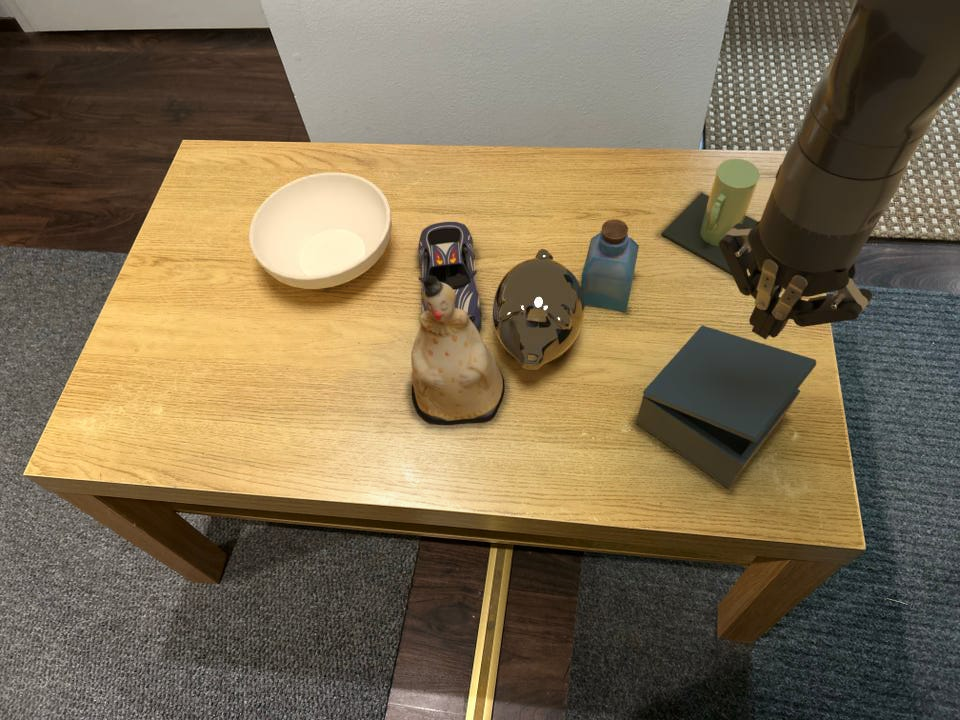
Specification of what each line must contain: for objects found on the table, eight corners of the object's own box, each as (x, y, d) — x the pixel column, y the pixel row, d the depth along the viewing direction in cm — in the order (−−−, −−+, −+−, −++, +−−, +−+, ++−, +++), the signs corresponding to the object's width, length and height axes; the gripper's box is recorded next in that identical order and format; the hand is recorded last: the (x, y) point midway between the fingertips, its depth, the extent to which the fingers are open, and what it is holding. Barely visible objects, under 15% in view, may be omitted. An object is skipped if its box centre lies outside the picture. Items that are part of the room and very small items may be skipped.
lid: (816, 364, 71) (816, 359, 70) (756, 443, 67) (755, 438, 66) (702, 329, 80) (701, 324, 80) (643, 396, 76) (642, 391, 76)
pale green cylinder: (745, 230, 96) (767, 170, 86) (718, 259, 93) (738, 201, 84) (713, 213, 98) (731, 152, 88) (686, 241, 95) (701, 182, 86)
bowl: (256, 315, 95) (237, 283, 89) (276, 211, 105) (260, 176, 99) (396, 307, 94) (386, 274, 88) (402, 202, 104) (394, 167, 98)
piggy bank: (486, 384, 86) (479, 333, 77) (504, 289, 94) (499, 232, 84) (575, 393, 85) (580, 343, 75) (586, 296, 92) (591, 239, 83)
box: (782, 418, 81) (801, 390, 75) (728, 489, 77) (743, 465, 71) (690, 360, 86) (701, 329, 80) (635, 423, 82) (642, 396, 76)
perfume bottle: (633, 275, 94) (644, 214, 83) (626, 312, 91) (636, 252, 80) (588, 268, 95) (594, 206, 85) (579, 304, 92) (584, 244, 82)
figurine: (413, 429, 84) (380, 339, 67) (411, 357, 89) (380, 257, 72) (508, 419, 84) (499, 326, 67) (500, 347, 89) (490, 245, 72)
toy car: (425, 344, 90) (419, 322, 86) (419, 239, 100) (413, 215, 96) (484, 337, 90) (481, 315, 86) (472, 232, 100) (469, 208, 96)
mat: (775, 233, 96) (776, 231, 95) (736, 277, 92) (736, 275, 92) (700, 194, 100) (701, 192, 100) (661, 235, 97) (661, 232, 97)
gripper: (946, 205, 48) (851, 341, 62) (773, 127, 53) (723, 270, 68) (895, 270, 45) (809, 397, 60) (719, 182, 50) (679, 318, 65)
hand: (763, 329), depth 64 cm, fingers closed
